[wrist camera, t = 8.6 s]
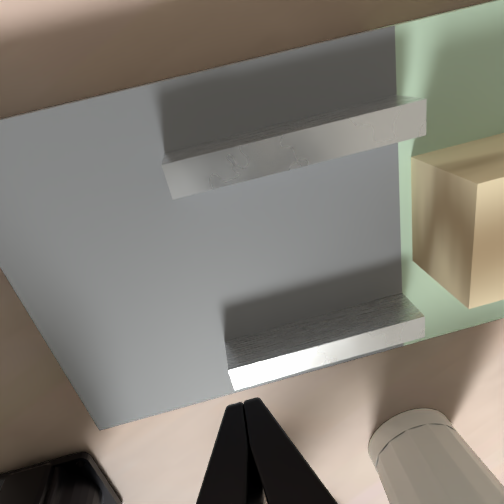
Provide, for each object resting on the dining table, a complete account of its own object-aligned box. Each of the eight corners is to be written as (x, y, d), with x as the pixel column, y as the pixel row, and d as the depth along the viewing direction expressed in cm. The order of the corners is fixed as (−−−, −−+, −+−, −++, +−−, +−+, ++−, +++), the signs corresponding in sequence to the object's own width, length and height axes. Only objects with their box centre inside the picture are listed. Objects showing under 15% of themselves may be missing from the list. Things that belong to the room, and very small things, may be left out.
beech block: (511, 233, 18) (591, 274, 14) (412, 260, 18) (468, 309, 14) (524, 127, 16) (623, 145, 12) (411, 156, 15) (477, 183, 12)
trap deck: (623, 251, 23) (670, 271, 21) (108, 393, 22) (99, 430, 19) (711, -52, 16) (794, -71, 14) (-39, 128, 15) (-78, 139, 13)
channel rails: (402, 311, 19) (424, 337, 17) (230, 359, 19) (234, 389, 17) (396, 94, 14) (426, 98, 13) (164, 152, 14) (161, 165, 12)
